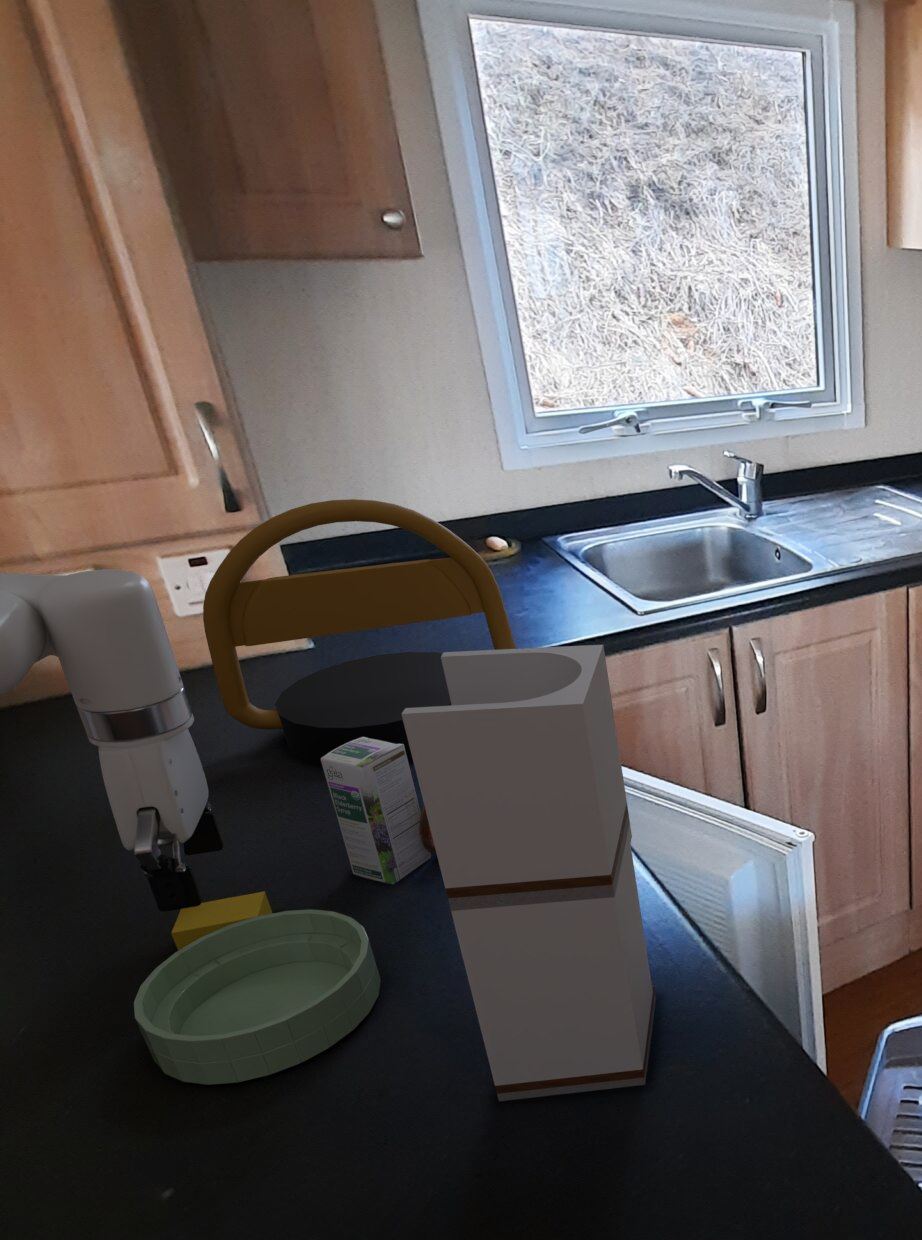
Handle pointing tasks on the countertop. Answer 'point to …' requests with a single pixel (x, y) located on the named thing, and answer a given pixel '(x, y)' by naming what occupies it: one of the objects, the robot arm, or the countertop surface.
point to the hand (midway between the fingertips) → (193, 878)
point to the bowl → (258, 996)
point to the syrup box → (376, 808)
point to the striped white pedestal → (539, 866)
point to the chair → (345, 627)
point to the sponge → (217, 916)
